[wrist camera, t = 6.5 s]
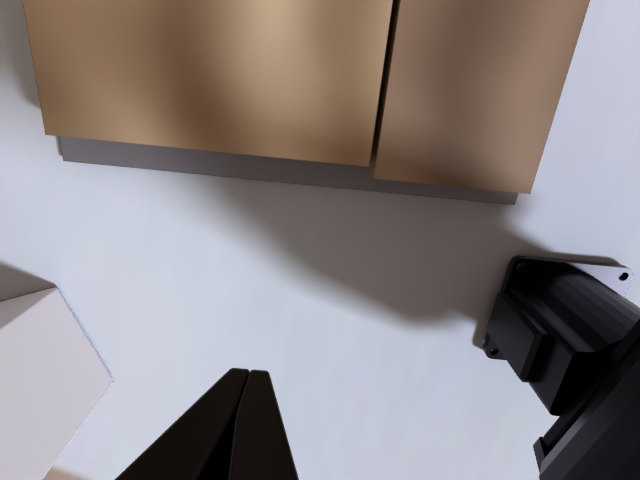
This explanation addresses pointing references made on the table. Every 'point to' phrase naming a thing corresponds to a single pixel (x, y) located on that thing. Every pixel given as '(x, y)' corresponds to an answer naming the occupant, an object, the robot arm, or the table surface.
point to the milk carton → (43, 382)
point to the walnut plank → (472, 90)
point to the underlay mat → (262, 167)
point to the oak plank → (213, 73)
